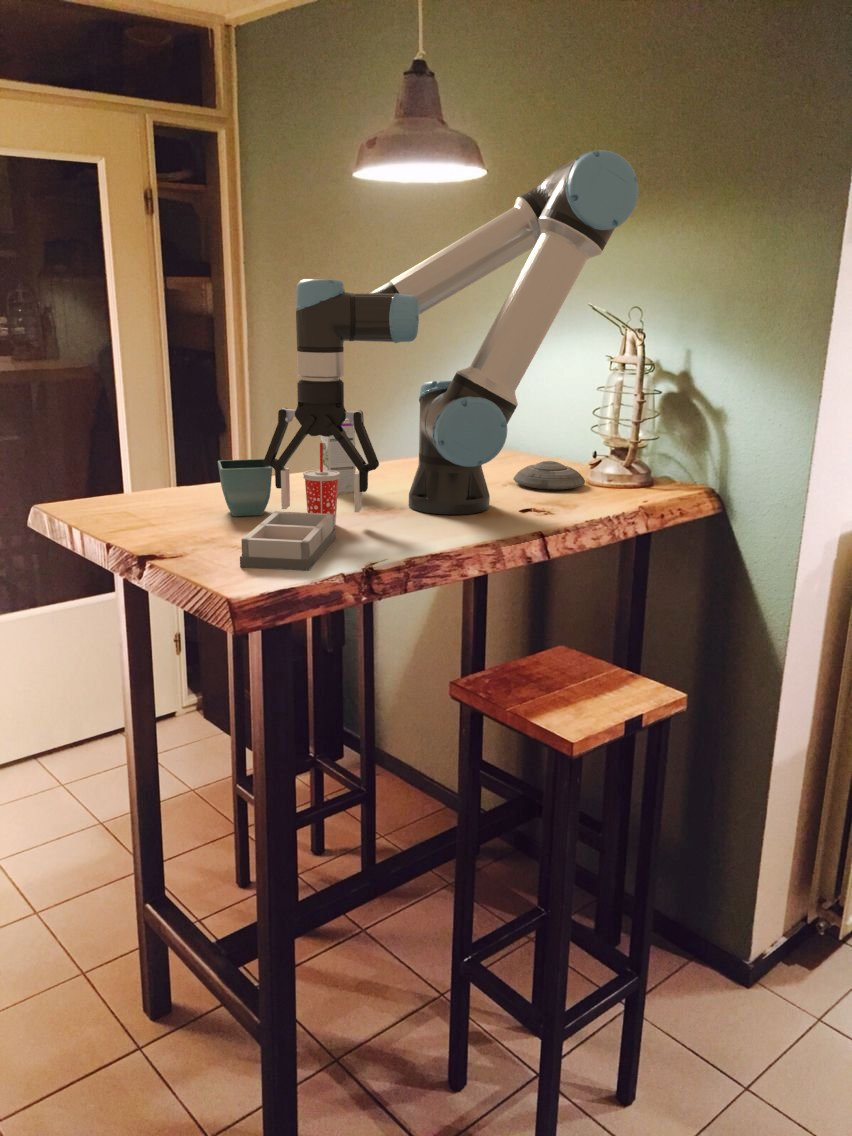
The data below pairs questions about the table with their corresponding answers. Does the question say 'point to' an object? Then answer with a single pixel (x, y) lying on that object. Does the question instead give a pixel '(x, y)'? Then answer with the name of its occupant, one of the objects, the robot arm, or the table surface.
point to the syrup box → (340, 459)
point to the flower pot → (245, 485)
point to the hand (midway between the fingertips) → (321, 509)
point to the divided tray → (288, 541)
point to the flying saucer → (549, 476)
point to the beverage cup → (321, 489)
